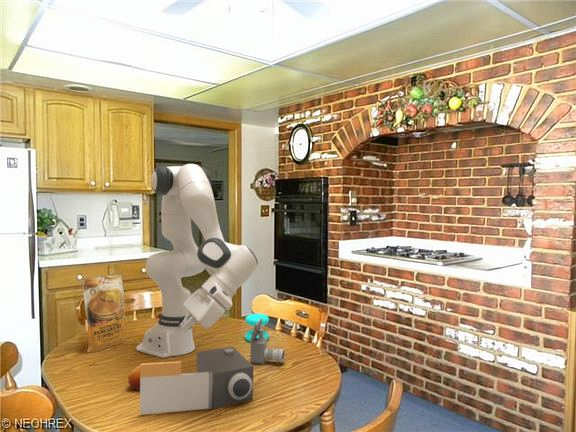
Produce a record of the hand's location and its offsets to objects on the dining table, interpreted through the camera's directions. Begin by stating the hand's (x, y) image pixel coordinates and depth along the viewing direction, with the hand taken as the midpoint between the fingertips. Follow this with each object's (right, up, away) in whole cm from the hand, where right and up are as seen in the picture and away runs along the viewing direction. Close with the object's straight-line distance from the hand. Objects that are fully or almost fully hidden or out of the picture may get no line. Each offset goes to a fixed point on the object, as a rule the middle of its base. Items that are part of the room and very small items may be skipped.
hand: (182, 329), depth 114 cm
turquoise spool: (+17, -20, +56) cm, 62 cm away
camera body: (+11, -22, +8) cm, 25 cm away
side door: (0, -21, -4) cm, 22 cm away
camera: (+23, -21, +31) cm, 44 cm away
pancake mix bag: (-42, -20, +45) cm, 65 cm away
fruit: (-15, -21, +11) cm, 28 cm away
